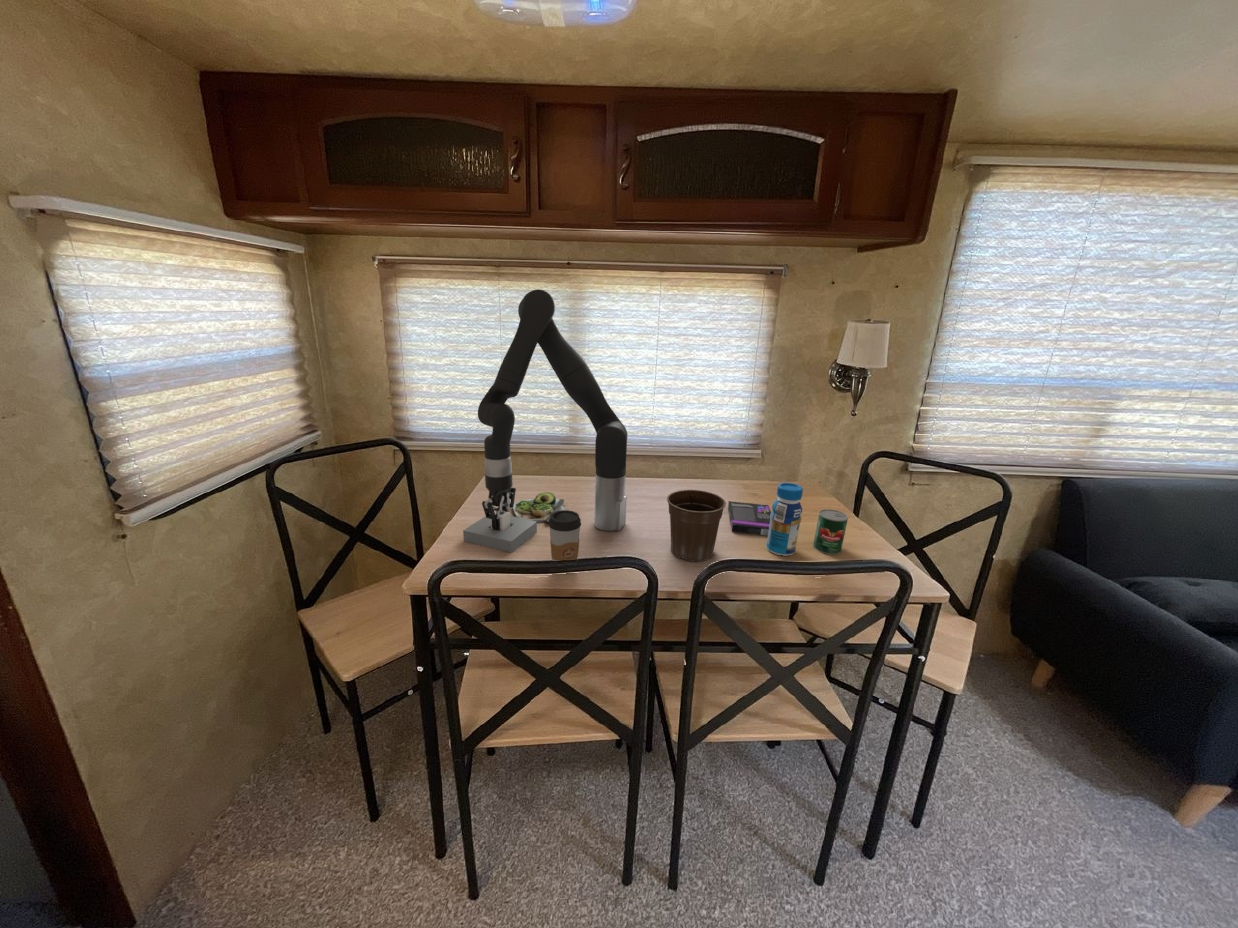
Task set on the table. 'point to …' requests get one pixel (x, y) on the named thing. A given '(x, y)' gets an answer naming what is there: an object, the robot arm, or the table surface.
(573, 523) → the coffee cup
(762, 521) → the box
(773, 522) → the beverage bottle
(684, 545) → the plant pot
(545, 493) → the avocado toast plate
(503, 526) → the block
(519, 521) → the outlet box
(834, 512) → the canned tomato
